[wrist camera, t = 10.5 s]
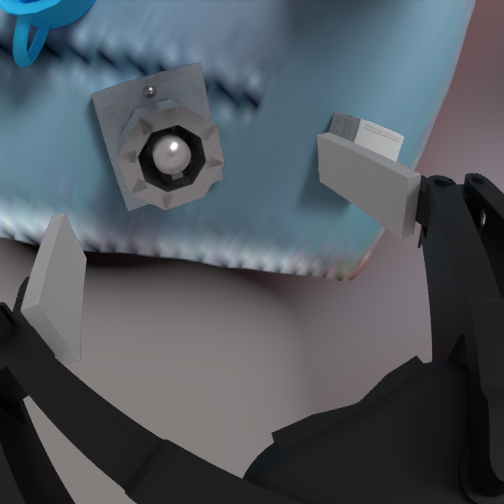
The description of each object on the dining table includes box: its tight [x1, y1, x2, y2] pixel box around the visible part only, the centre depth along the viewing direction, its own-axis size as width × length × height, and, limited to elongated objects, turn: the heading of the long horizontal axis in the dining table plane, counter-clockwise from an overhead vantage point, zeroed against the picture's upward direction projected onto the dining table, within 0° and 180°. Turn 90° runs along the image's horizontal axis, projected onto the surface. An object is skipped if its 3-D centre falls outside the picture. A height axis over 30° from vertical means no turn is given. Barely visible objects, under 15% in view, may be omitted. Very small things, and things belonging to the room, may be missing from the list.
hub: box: [118, 99, 225, 210], centre depth 24 cm, size 7×7×6 cm
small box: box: [317, 112, 404, 172], centre depth 35 cm, size 8×8×5 cm
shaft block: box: [91, 63, 224, 212], centre depth 25 cm, size 12×10×9 cm
